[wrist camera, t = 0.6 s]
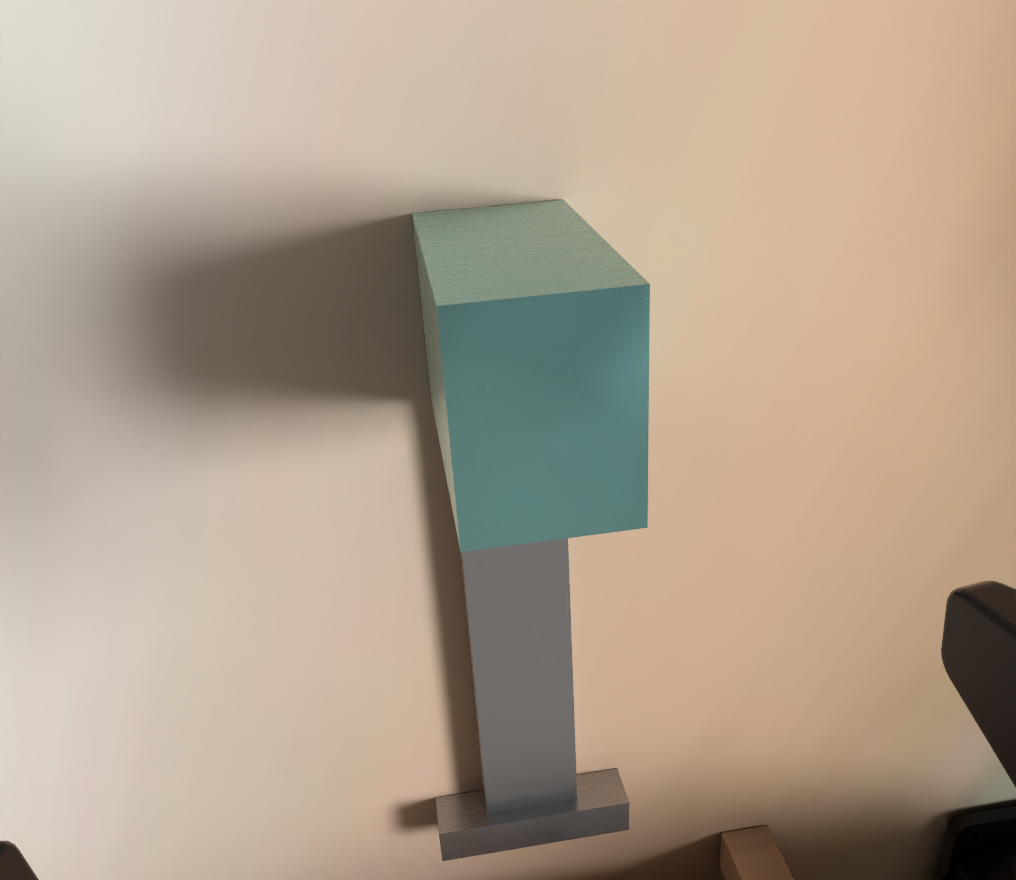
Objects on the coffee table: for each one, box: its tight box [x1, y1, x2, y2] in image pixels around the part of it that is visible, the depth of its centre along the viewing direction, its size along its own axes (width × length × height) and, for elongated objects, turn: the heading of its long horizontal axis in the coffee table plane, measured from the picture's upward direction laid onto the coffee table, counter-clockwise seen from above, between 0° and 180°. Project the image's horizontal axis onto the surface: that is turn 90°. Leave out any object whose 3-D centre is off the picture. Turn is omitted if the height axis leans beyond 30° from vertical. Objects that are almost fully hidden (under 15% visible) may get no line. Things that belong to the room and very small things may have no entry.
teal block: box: [412, 200, 650, 861], centre depth 19 cm, size 5×16×6 cm, turn 3°
